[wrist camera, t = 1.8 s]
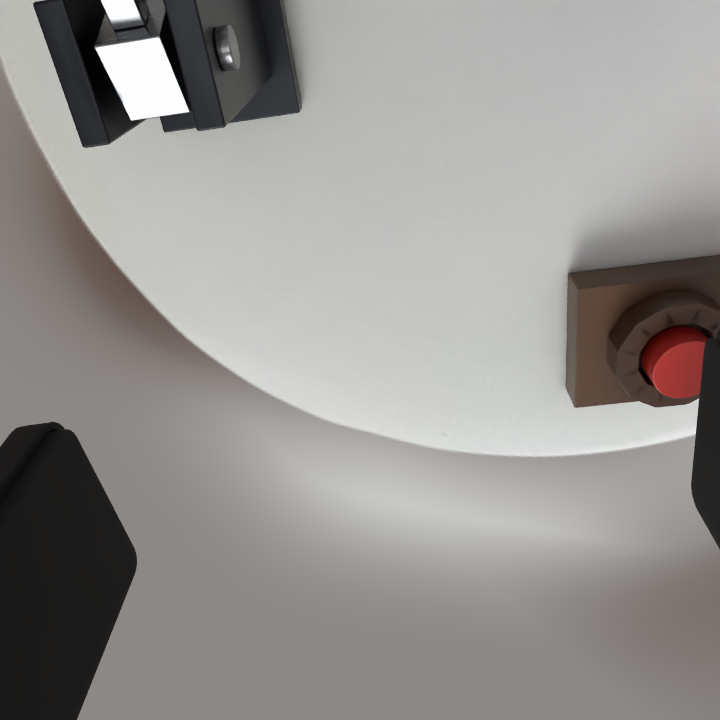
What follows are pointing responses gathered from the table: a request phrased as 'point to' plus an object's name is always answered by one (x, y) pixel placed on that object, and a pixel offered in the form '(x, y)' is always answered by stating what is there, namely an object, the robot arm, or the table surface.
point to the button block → (633, 325)
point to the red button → (675, 361)
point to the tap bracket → (197, 61)
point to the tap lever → (141, 58)
